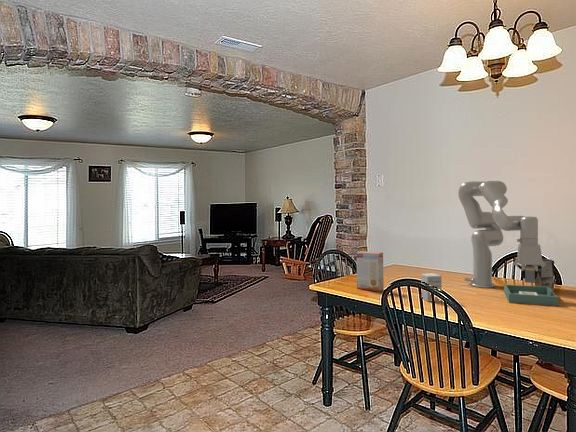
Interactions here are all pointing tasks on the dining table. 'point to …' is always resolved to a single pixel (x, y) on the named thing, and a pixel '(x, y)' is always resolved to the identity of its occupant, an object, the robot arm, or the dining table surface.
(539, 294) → the walled box
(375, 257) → the cracker box
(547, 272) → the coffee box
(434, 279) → the supplement box
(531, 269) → the connector
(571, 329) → the dining table surface
